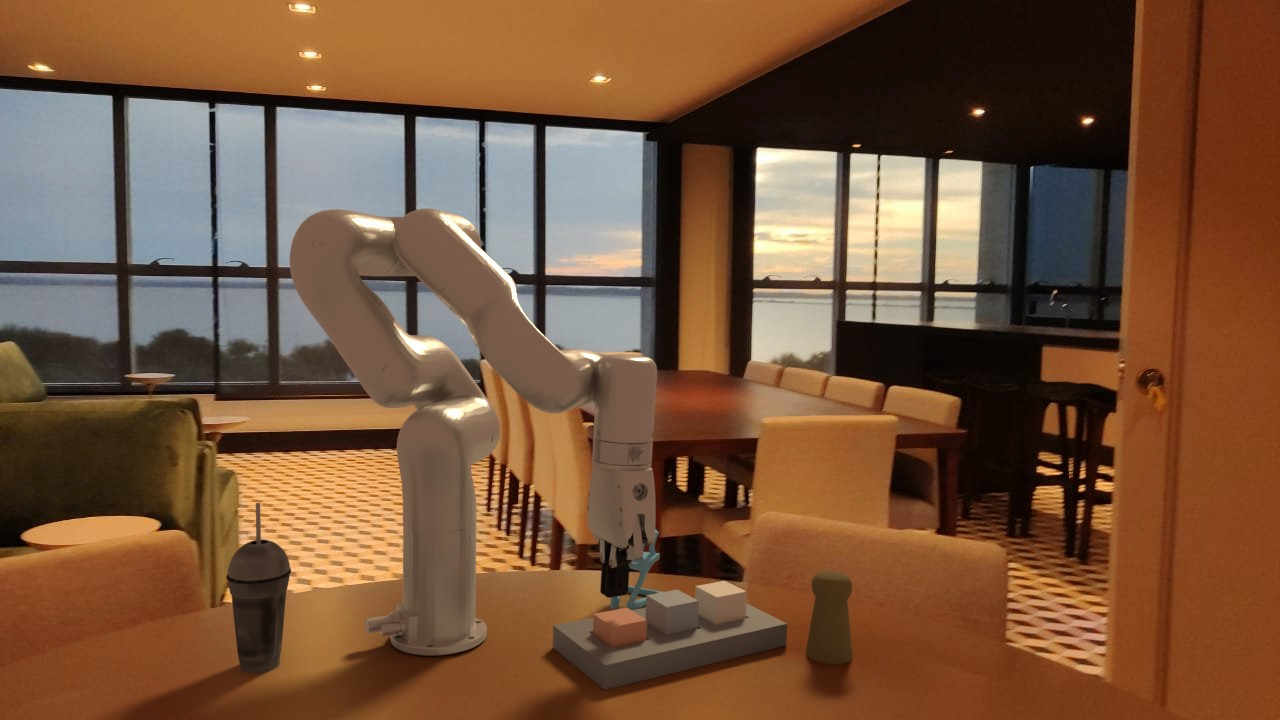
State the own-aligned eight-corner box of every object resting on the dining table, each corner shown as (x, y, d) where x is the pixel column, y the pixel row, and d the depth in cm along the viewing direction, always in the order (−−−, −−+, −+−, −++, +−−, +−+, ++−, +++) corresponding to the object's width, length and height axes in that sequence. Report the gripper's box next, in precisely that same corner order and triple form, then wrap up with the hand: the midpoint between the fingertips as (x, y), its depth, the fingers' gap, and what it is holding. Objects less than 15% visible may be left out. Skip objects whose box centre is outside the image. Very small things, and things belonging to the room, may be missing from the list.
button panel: (604, 689, 103) (605, 665, 103) (552, 647, 115) (553, 625, 115) (786, 645, 118) (787, 623, 118) (723, 611, 130) (724, 592, 129)
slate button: (665, 637, 113) (666, 607, 113) (645, 624, 117) (646, 595, 117) (697, 630, 115) (698, 600, 115) (676, 618, 120) (677, 589, 119)
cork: (853, 666, 112) (857, 582, 111) (805, 661, 113) (808, 577, 112) (851, 648, 118) (855, 567, 117) (805, 643, 119) (809, 564, 118)
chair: (596, 607, 131) (597, 528, 130) (619, 589, 138) (620, 515, 137) (644, 615, 128) (645, 535, 127) (664, 597, 135) (666, 521, 134)
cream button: (716, 626, 117) (716, 597, 117) (694, 614, 121) (695, 586, 121) (745, 619, 120) (746, 591, 119) (723, 608, 124) (724, 580, 124)
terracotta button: (611, 658, 109) (612, 626, 108) (592, 644, 113) (593, 613, 113) (646, 650, 111) (646, 619, 111) (626, 637, 116) (626, 607, 115)
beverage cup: (228, 682, 103) (226, 515, 101) (225, 659, 109) (224, 501, 108) (294, 671, 106) (294, 509, 104) (288, 649, 112) (287, 496, 111)
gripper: (680, 463, 106) (670, 610, 107) (618, 441, 119) (610, 572, 120) (626, 466, 102) (617, 619, 104) (568, 443, 115) (561, 579, 116)
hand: (614, 594), depth 112 cm, fingers closed
